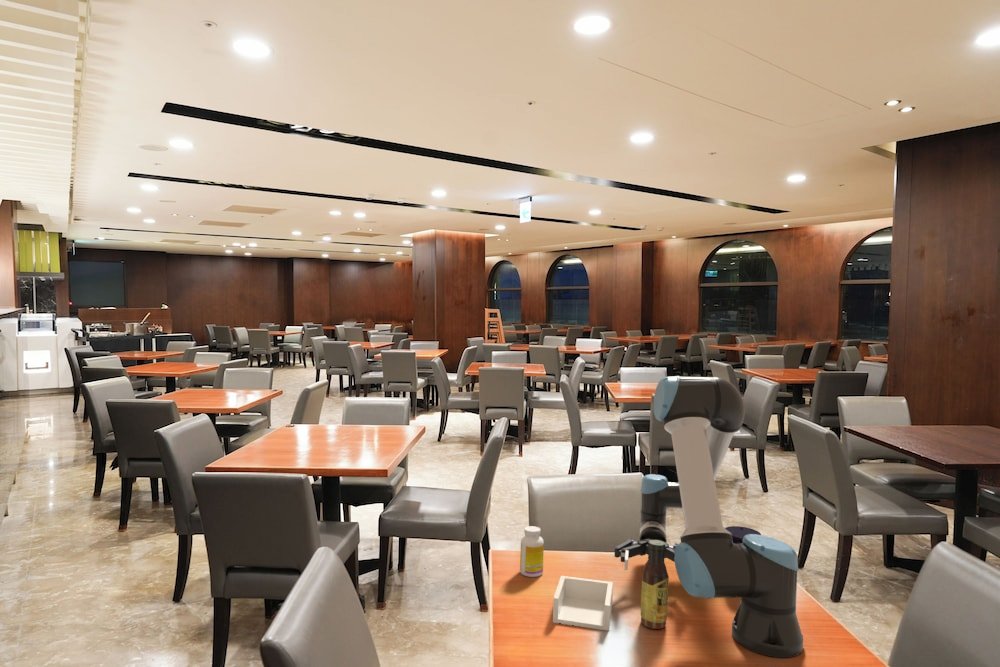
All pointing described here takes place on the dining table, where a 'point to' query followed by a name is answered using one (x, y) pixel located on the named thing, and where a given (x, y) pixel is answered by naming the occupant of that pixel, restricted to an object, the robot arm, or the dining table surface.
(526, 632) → the dining table surface
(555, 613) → the bottle stand
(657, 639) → the dining table surface
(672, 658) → the dining table surface
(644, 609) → the sauce bottle
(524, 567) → the supplement bottle
